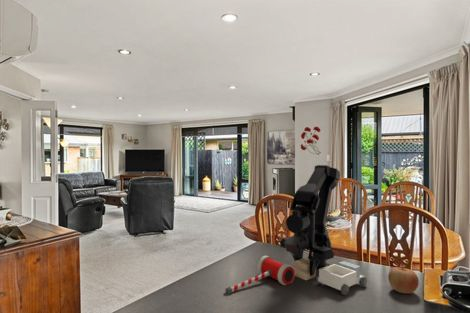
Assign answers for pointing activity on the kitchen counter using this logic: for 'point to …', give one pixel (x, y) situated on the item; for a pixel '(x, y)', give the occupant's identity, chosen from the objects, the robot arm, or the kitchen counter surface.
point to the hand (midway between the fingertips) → (305, 273)
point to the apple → (403, 280)
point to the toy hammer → (269, 273)
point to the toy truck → (341, 276)
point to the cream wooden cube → (303, 269)
